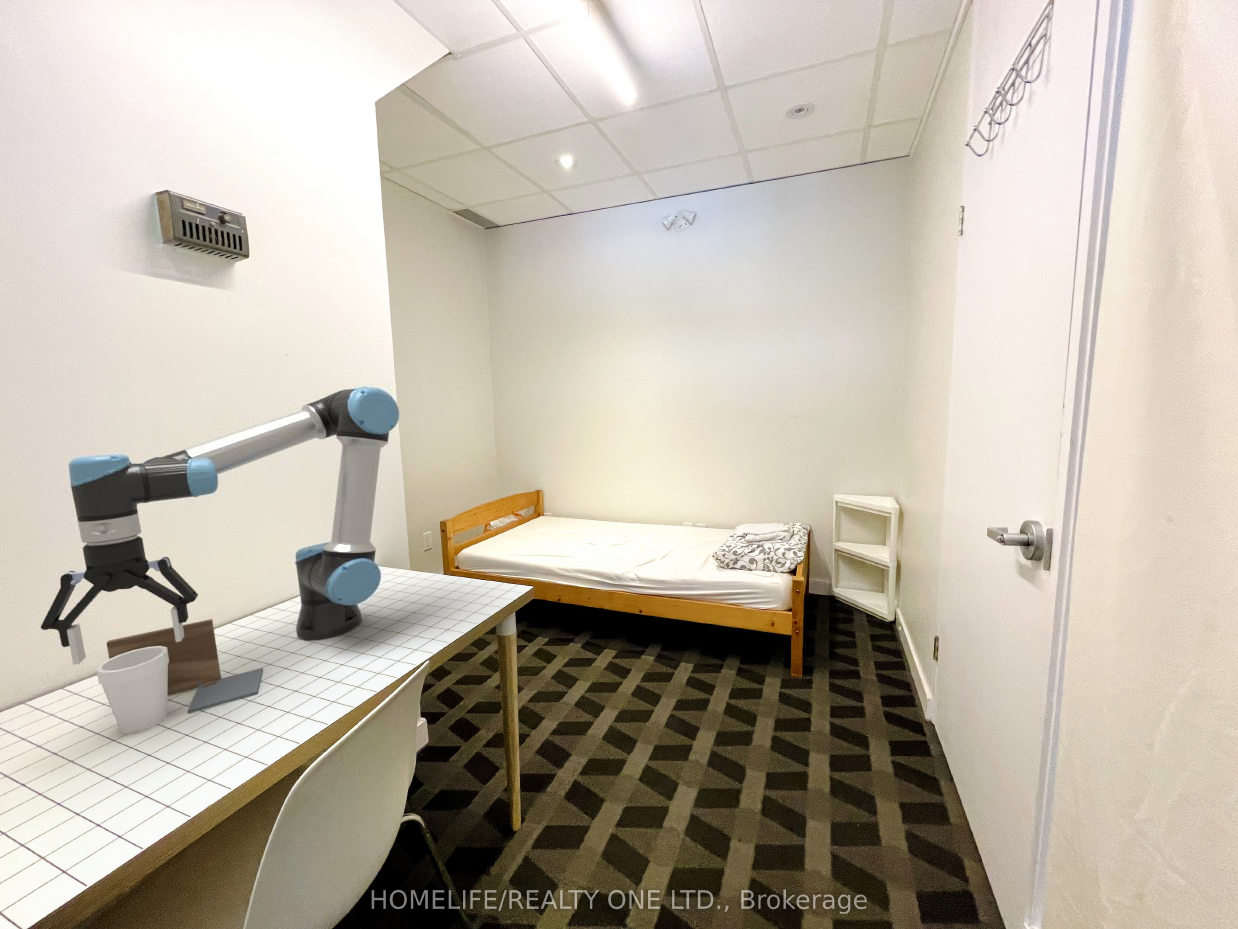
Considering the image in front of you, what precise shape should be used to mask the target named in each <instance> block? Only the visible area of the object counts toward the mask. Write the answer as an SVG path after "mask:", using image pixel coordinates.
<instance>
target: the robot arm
mask: <svg viewBox="0 0 1238 929" xmlns="http://www.w3.org/2000/svg"><path fill="white" fill-rule="evenodd" d="M399 417H400V411H399V406H398V404H397V402H396V400H395V399H394V398H393V397H392V395H391V394H390V393H389V392H387V391H386V390H385V389H384V390H383V389H381V388H378V387H374V386H373V387H371V386H370V387H369V386H361V387H358V388H356V387H355V388H350V389H342V390H339V391H336V392H333V393H330V394H329V395H327V396H324V397H323V398H320V399H317V400H315V401H313V402H309V403H306V404H304V405H303V406H302V407H301V409H300V410H298V411H296V412H292V413H289V414H287V415H283V416H280V417H278V418H275V419H271V420H268V421H266V422H263V423H260V424H257V425H253V426H251V427H247V428H245V429H242V430H238V431H236V432H232V433H230V434H227V435H224V436H220V437H217V438H215V439H211V440H209V441H206V442H202V443H200V444H199V443H198V444H197V445H193V446H191V447H187V448H184V449H183V450H179V451H175V452H172V453H170V454H167V455H163V456H155V457H152V458H149V459H147V460H145V461H143V462H142V463H141V462H140V463H132V461H131V460H130V457H129V456H128V455H127V454H124V453H123V454H120V453H119V454H107V455H106V454H104V455H88V456H80V457H76V458H74V459H72V460H70V462H68V470H69V480H70V482H69V484H70V489H71V493H72V499H73V503H74V507H75V508H74V509H75V513H76V518H77V524H78V529H79V535H80V540H81V543H84V546H82V552H83V553H82V554H83V558H84V562H85V567H86V569H85V571H75V570H69V571H68V572H66V573H63V574H62V575H61V576H60V588H59V590H58V592H57V594H56V596H55V598H54V600H53V602H52V604H51V606H50V608H49V610H48V612H47V613H46V616H45V617H44V619H43V621H42V623H41V625H40V629H41V630H43V631H47V630H56V631H58V633H59V640H60V644H61V646H62V648H67V647H69V649H70V654H71V658H72V665H73V666H74V665H75V666H76V665H80V664H81V663H82V662H83V661H84V660H85V659H86V657H87V656H86V651H85V646H84V640H83V635H82V630H81V625H80V623H74V622H75V621H76V619H77V620H78V617H79V616H80V615H81V614H82V613H83V612H84V611H85V610H86V609H87V607H88V606H89V605H91V603H92V602H93V600H94V599H96V598H97V596H98V595H99V594H100V593H102V591H103V592H107V593H112V592H116V591H117V590H130V589H132V588H134V587H138V588H140V589H142V590H143V589H144V590H145V591H147V592H149V593H151V594H152V595H154V596H156V597H157V598H159V599H161V600H163V601H165V602H166V603H168V604H170V605H172V608H171V609H170V616H171V620H172V627H173V628H174V634H175V640H176V642H180V641H182V639H183V637H184V630H183V625H184V624H183V623H187V621H188V618H189V612H188V604H190V603H193V602H195V600H197V598H198V596H199V593H197V591H196V590H195V589H194V588H193V587H192V586H191V585H190V584H189V583H188V582H187V581H186V580H185V579H184V578H183V577H182V576H181V575H180V573H179V572H178V571H177V570H175V569H174V567H173V566H172V562H171V559H170V558H169V557H168V556H164V557H162V558H160V559H156V560H152V561H149V560H147V558H146V552H145V546H144V540H143V539H144V538H143V537H141V536H139V535H140V534H141V533H142V529H141V523H140V517H139V512H138V511H139V510H138V504H148V503H152V502H159V501H168V500H178V499H185V498H193V497H194V498H197V497H199V496H206V495H212V494H214V493H215V492H217V490H218V487H219V477H218V475H220V474H223V473H225V472H229V471H230V470H234V469H236V468H239V467H241V466H244V465H247V464H249V463H252V462H255V461H257V460H260V459H263V458H265V457H268V456H271V455H273V454H276V453H279V452H281V451H284V450H287V449H289V448H293V447H295V446H297V445H300V444H303V443H305V442H308V441H311V440H314V439H319V440H324V439H326V438H330V437H333V436H336V439H337V440H338V441H339V442H340V444H341V454H340V461H339V462H340V464H339V471H338V472H339V473H338V479H337V480H338V481H337V491H336V499H335V506H334V508H335V509H334V513H333V524H332V532H331V540H330V541H327V542H323V543H318V544H314V545H309V546H306V547H305V546H304V547H302V548H300V549H298V550H297V551H296V553H295V562H294V564H295V566H296V573H297V581H298V589H299V595H300V596H299V597H300V603H301V605H300V609H299V614H298V618H297V622H296V626H295V629H296V636H297V637H298V639H300V640H306V641H311V640H312V641H313V640H314V641H316V640H325V639H328V638H331V637H332V638H333V637H336V636H340V635H342V634H344V633H347V632H349V631H351V630H353V629H355V628H357V627H358V626H359V625H360V624H361V622H362V621H363V620H362V611H361V610H360V607H359V606H358V605H359V604H361V603H363V602H365V601H367V600H368V599H369V598H370V597H372V595H374V594H375V592H376V591H377V590H378V587H379V586H380V583H381V578H382V572H381V569H380V567H379V566H378V563H376V562H375V559H376V550H377V547H375V545H374V544H373V543H372V542H371V535H372V528H373V518H374V508H375V501H376V492H377V483H378V476H379V475H378V474H379V465H380V457H381V450H382V448H384V447H385V446H386V445H388V444H389V437H390V435H389V434H390V431H392V430H393V429H394V428H395V427H396V426H397V424H398V422H399V419H400V418H399ZM150 569H154V571H156V572H159V573H160V574H161V575H162V577H164V579H166V581H167V582H168V583H169V584H170V585H171V586H172V587H173V588H174V589H175V590H176V591H177V592H178V593H177V592H175V591H174V590H172V589H170V588H168V587H166V586H165V585H163V584H162V583H160V582H159V581H156V580H155V579H154V578H153V577H152V576H150V575H148V574H147V573H148V571H150ZM82 579H84V580H85V581H87V582H88V583H90V584H91V585H92V586H91V587H90V589H89V590H87V592H86V593H85V595H83V597H82V598H81V599H80V600H79V601H78V602H77V603H76V605H75V606H74V607H73V608H72V609H71V610H70V612H69V613H68V614H66V616H65V617H64V618H63V619H60V617H61V615H62V613H63V612H64V609H65V607H66V606H67V604H68V602H69V600H70V598H71V596H72V594H73V593H74V590H75V588H76V586H77V585H78V584H79V583H80V582H82Z"/></svg>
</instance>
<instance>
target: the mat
mask: <svg viewBox="0 0 1238 929" xmlns="http://www.w3.org/2000/svg"><path fill="white" fill-rule="evenodd" d="M263 671H264V670H263V667H261V668H256V669H253V670H248V671H245V672H240V673H238V674H233V675H230V676H226V677H221V679H218V680H217V681H216V684H213V685H210V686H206V687H203V684H204V683H203V684H199V686H198V688H196V690H195V692H194V695H193V697H192V700H191V702H190V704H189V706H188V708H187V710H186V711H187V714H191V713H196V712H198V711H203V710H206V709H209V708H212V707H217V706H219V705H223V704H227V703H230V702H233V701H237V700H241V699H245V698H248V697H250V696H251V697H252V696H255V695H258V694H259V691H260V684H261V680H262V675H263Z"/></svg>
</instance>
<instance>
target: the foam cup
mask: <svg viewBox="0 0 1238 929" xmlns="http://www.w3.org/2000/svg"><path fill="white" fill-rule="evenodd" d="M168 663H169V656H168V650H167V647H163V646H153V647H146V648H141V649H137V650H133V651H130V652H127V653H123V654H120V655H118V656H115V657H113V658H111V659H109V658H108V659H106V660H105V661H103V662H102V663H101V664H99V665H98V666H97V668H96V674H97V681H98V683H99V684H101V687H102V689H103V692H104V694H105V697H106V699H107V701H108V704H109V706H110V709H111V711H112V714H113V716H114V718H115V721H116V724H117V725H118V728H119V730H120V733H122V734H125V735H126V734H127V735H128V734H135V733H138V732H142V731H145V730H149V729H151V728H152V727H155V726H156V725H158V724H160V723H162V721H163V722H164V720H165V719H167V717H168V714H167V713H168V696H167V688H168Z"/></svg>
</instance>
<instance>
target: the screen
mask: <svg viewBox="0 0 1238 929" xmlns="http://www.w3.org/2000/svg"><path fill="white" fill-rule="evenodd" d="M213 621H214V620H213V618H211V619H206V620H202V621H198V622H192V623H187V624H183V630H184V637H183V639H182V641H180V642H176V640H175V634H174V628H173V626H172V627H168V628H162V629H158V630H154V631H148V632H142V633H138V634H134V635H130V636H129V635H127V636H125V637H120V638H115V639H110V640H107V642H106V648H107V653H108V660H109V659H111V658H113V657H115V656H118V655H120V654H123V653H127V652H130V651H133V650H137V649H141V648H146V647H153V646H163V647H167V650H168V656H169V663H168V688H167V697H168V696H172V695H175V694H179V693H182V692H186V691H190V690H193V689H197V688H198V686H199V684H203V683H204V684H203V687H206V686H210V685H213V684H216V681H217V680H218V679H221V678H222V676H221V668H220V662H219V661H220V660H219V655H218V654H219V653H218V648H217V642H216V636H215V627H214V622H213Z"/></svg>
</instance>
